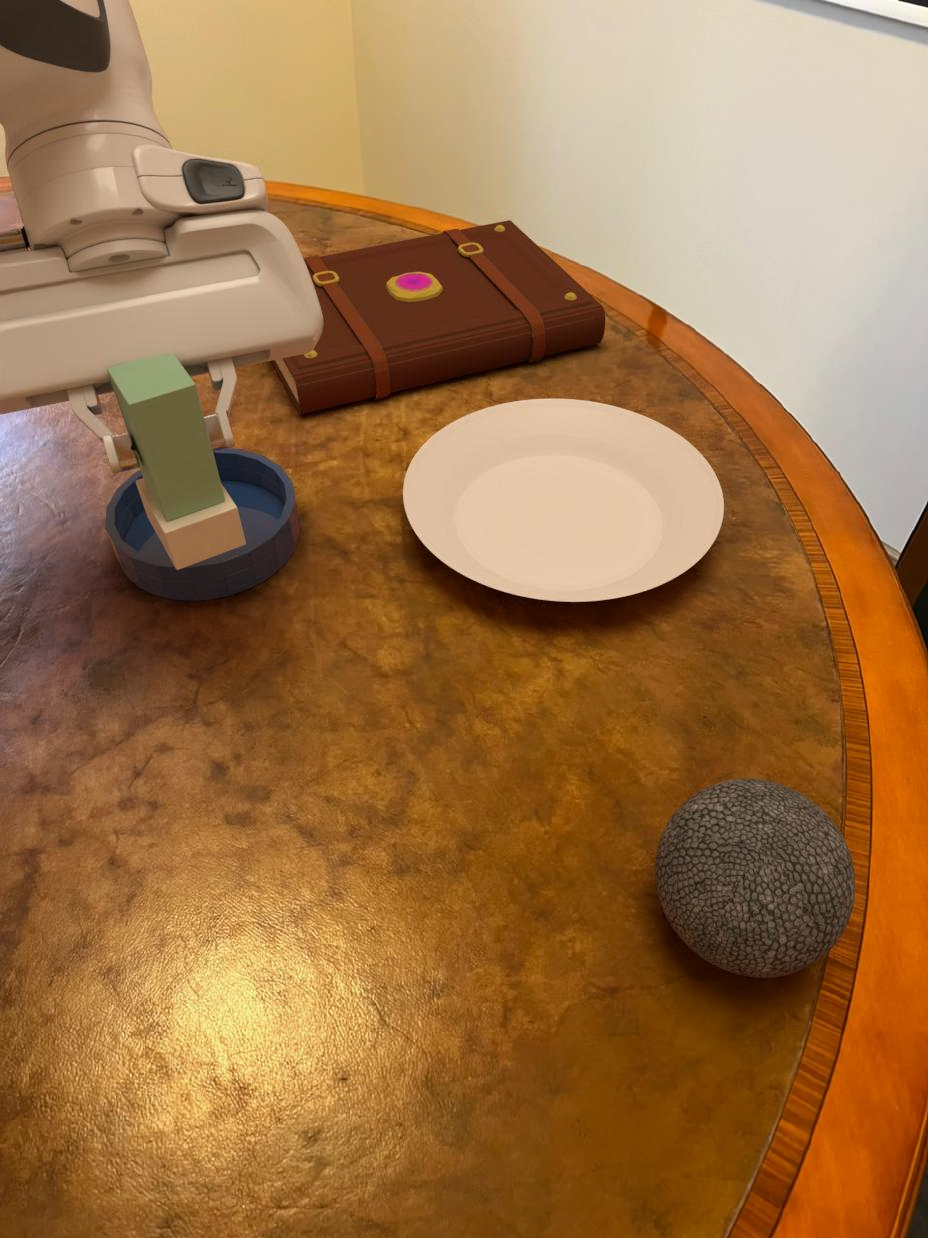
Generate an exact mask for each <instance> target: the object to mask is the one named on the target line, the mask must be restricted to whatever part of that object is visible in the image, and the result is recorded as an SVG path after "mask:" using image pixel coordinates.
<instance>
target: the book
mask: <svg viewBox="0 0 928 1238" xmlns="http://www.w3.org/2000/svg"><path fill="white" fill-rule="evenodd" d="M303 259H304V261H305V264H306V266H307V269H308V271H309V274H310V277H311V279H312V282H313V285H314V288H315V291H316V294H317V297H318V300H319V303H320V307H321V311H322V315H323V322H324V324H323V331H322V334H321V336H320V339H319V341H318V342H317V344H316V346H315V348H314V349H313V350H312V351H311V352H310V353H307V354H302V355H297V356H292V357H287V358H282V359H277V360H272V361H270V362H271V364H272V366H273V368H274V369H275V371H276V373H277V375H278V377H279V379H280V380H281V382H282V384H283V386H284V388H285V390H286V391H287V393H288V396H289V397H290V399H291V401H292V403H293V405H294V406H295V408H296V410H297V412H298V414H299V415H305V414H308V413H313V412H316V411H321V410H326V409H331V408H334V407H337V406H342V405H346V404H350V403H354V402H360V401H362V400H363V401H364V400H367V399H371V398H373V399H374V400H376V401H377V400H380V399H384V398H387V397H389V396H390V394H392V393H397V392H400V391H405V390H410V389H415V388H417V387H422V386H426V385H430V384H434V383H435V384H436V383H438V382H442V381H443V382H444V381H446V380H451V379H457V378H460V377H464V376H467V375H468V376H469V375H472V374H476V373H480V372H485V371H488V370H493V369H497V368H502V367H505V366H510V365H514V364H518V363H523V362H527V363H528V364H531V363H535V362H538V361H541V360H542V359H543V357H548V356H552V355H555V354H561V353H565V352H569V351H572V350H577V349H582V348H586V347H590V346H593V345H599V344H601V343H602V341H603V339H604V336H605V331H606V313H605V308H604V306H603V304H601V303H600V302H599V301H598V300H597V299H596V298H595V297H594V296H593V295H591V294H590V292H589V291H587V290H586V289H585V288H584V286H582V285H581V284H580V283H579V282H578V281H577V280H575V279H574V277H572V276H571V275H570V274H569V273H568V272H567V271H566V270H565V269H564V268H563V267H561V266H560V265H559V264H558V263H557V262H556V260H554V259H553V258H552V257H551V256H549V255H548V254H547V252H545V251H544V249H542V248H541V247H540V246H539V245H537V244H536V243H535V241H533V240H532V239H531V238H530V237H529V236H528V235H527V234H526V233H525V232H524V231H522V229H521V228H519V226H518V225H516V223H514V221H512V220H511V219H508V220H503V221H497V222H493V223H487V224H483V225H477V226H471V227H467V228H462V229H459V228H452V229H447V230H442V232H440V233H436V234H435V233H434V234H430V235H425V236H420V237H414V238H410V239H404V240H398V241H394V242H389V243H384V244H377V245H373V246H368V247H363V248H357V249H352V250H346V251H342V252H341V251H340V252H337V253H331V254H327V255H321V256H320V255H310V256H306V257H303Z"/></svg>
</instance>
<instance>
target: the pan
mask: <svg viewBox="0 0 928 1238" xmlns="http://www.w3.org/2000/svg"><path fill="white" fill-rule="evenodd" d="M213 454H214V458H215V462H216V466H217V470H218V474H219V478H220V481H221V484H222V485H223V487H224V488H225V490H226V491H227V493H228V494H229V496H230V497H231V499H232V500H233V502H234V503H235V505H236V506H237V509H238V513H239V517H240V521H241V525H242V529H243V533H244V537H245V541H246V544H245V545H243V546H240V547H238V548H235V549H232V550H230V551H227V552H224V553H222V554H219V555H216V556H214V557H211V558H208V559H206V560H203V561H200V562H198V563H195V564H192V565H190V566H187V567H184V568H182V569H179V570H177V569H176V568H175V566H174V564H173V562H172V561H171V559H170V557H169V555H168V553H167V552H166V550H165V548H164V546H163V544H162V542H161V541H160V539H159V537H158V535H157V533H156V532H155V530H154V528H153V526H152V524H151V523H150V521H149V519H148V517H147V514H146V511H145V508H144V505H143V502H142V499H141V496H140V493H139V490H138V488H137V485H136V480H139V479H142V478H143V476H142V473H141V470H140V469H139V470H136V472H134V473H133V474H131V475H130V476H129V477H128V478H127V479H125V481H123V482H122V483H121V484H120V486H118V487H117V488H116V490H115V491H114V493H113V495H112V497H111V499H110V501H109V502H108V504H107V506H106V509H105V523H104V527H105V531H106V533H107V536H108V539H109V541H110V544H111V546H112V550H113V552H114V555H115V557H116V559H117V561H118V563H119V565H120V569H121V570H122V571H123V573H124V575H125V576H126V578H128V579H129V580H130V581H131V583H133V584H134V585H135V586H137V587H139V588H140V589H141V590H143V591H145V592H146V593H149V594H152V595H155V596H157V597H161V598H165V599H169V600H175V601H188V602H190V601H191V602H196V601H208V600H214V599H215V600H216V599H222V598H226V597H228V596H233V595H237V594H239V593H242V592H245V591H247V590H250V589H252V588H254V587H255V586H258V585H260V584H261V583H263V582H265V581H266V580H269V578H271V577H273V575H275V574H276V573H277V572H279V570H281V569H282V568H283V567H284V566H285V565H286V563H287V562H288V561H289V560H290V558H291V557H292V556H293V554H294V553H295V551H296V548H297V547H298V543H299V540H300V537H301V523H300V517H299V510H298V505H297V499H296V498H297V497H296V492H295V486H294V482H293V480H292V479H291V478H290V476H289V475H288V473H286V471H285V470H284V469H283V467H282V465H280V464H278V463H276V462H275V461H273V460H271V458H268V457H267V456H265V455H263V454H258V453H255V452H251V451H247V450H245V449H244V450H243V449H242V448H241V449H240V448H228V449H222V450H218V451H213Z"/></svg>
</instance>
